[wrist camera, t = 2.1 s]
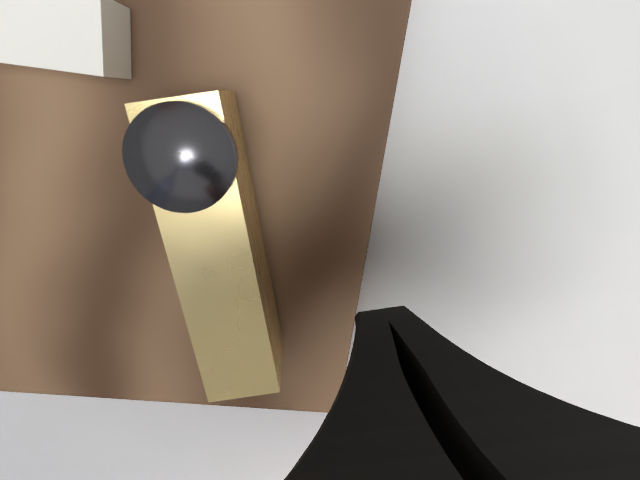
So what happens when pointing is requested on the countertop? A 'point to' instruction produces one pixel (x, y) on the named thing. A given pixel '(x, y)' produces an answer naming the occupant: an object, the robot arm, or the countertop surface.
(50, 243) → the plate
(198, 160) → the bar
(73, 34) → the white rectangular block
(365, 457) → the robot arm
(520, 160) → the countertop surface
